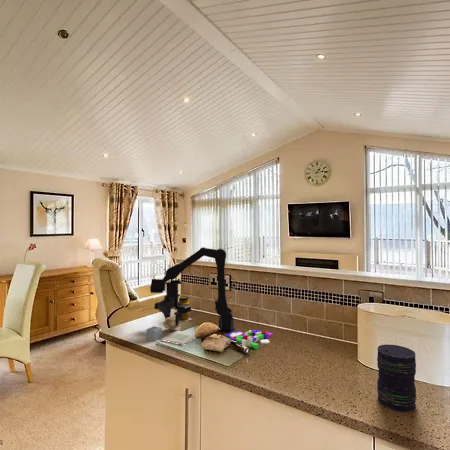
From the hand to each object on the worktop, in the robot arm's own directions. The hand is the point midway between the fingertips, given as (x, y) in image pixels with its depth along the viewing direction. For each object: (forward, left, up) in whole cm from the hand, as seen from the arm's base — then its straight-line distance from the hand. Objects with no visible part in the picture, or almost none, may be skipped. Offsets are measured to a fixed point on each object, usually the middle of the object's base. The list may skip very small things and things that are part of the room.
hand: (172, 324), depth 156 cm
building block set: (-37, -6, -4) cm, 38 cm away
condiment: (+7, -17, -3) cm, 19 cm away
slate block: (0, +13, -3) cm, 13 cm away
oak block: (0, 0, -1) cm, 1 cm away
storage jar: (-97, +19, -3) cm, 99 cm away
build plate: (-11, +8, -3) cm, 14 cm away
